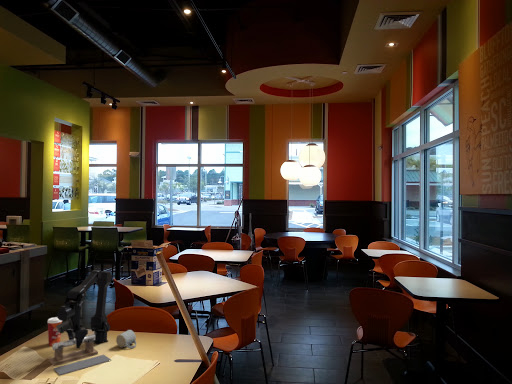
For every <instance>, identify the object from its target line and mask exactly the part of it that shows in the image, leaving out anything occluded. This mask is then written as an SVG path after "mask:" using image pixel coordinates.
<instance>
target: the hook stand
mask: <svg viewBox="0 0 512 384" xmlns="http://www.w3.org/2000/svg"><path fill="white" fill-rule="evenodd" d="M98 355H99V351H98V350H97V349H95V348H94V338H90V339H89V342H85V343H84V348H83V349H80V350H79V349H78V350H76V351H72V352H69V353H64V348H63V345H60V346H58V349H56V350H54V355H53V356H52V357H49V359H48V360H49V362H50V363H51V365H53V366H54V367H55V366H56V367H58V366H62V365H65V364H69V363H73V362H75V361H80V360H82V359H83V360H84V359H85V358H86V359H87V358H89V357H90V358H91V357H93V356H94V357H95V356H98Z"/></svg>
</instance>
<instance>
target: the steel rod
mask: <svg viewBox="0 0 512 384" xmlns="http://www.w3.org/2000/svg"><path fill="white" fill-rule="evenodd" d="M90 338H94V340H95V334H94V333H93V334H89V335H88V334H87V335H86V336H85V338H84V339H83V341H82V343H81V344H83V343H84V344H85V342H89V339H90ZM60 345H63V349H64V348H68V347H72V346H76V339H75V338H74V339H71V340H69V339H68V340H63V341H60V342H58V343H54V344H53V345H52V346H51V347H52V350H53V351H55V350H56V349H58V346H60Z"/></svg>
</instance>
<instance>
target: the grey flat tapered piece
mask: <svg viewBox="0 0 512 384" xmlns="http://www.w3.org/2000/svg"><path fill="white" fill-rule="evenodd" d="M109 360H111V361H112V359H111V358H110V357H108V356H107V355H105V354H101V355H95V356H94V357H93V356H92V357H90V358H89V357H88V358H86V359H85V358H84V359H83V360H82V359H81V360H77V361H76V362H75V361H74V362H70V363H66V364H63V365H59V366H56V367H54V368H53V370H54V371H55V372H56V373H57V374H58V376H63V375H66V374H69V373H74V372H78V371H81V370H84V369H88V368H91V367H94V366H99V365H101V364H104V363H108V362H110V361H109ZM107 361H108V362H107Z"/></svg>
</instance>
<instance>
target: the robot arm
mask: <svg viewBox="0 0 512 384" xmlns="http://www.w3.org/2000/svg"><path fill="white" fill-rule="evenodd" d="M112 279H113V274H112V273H111V272H110V271H103V270H102V271H100V270H91V271H90V274H88V276H87V277H86V278H85V279H84V280H83V281H81V283H80V284H79V285H78V286H75V287H72V289H70V290H69V291H68V292H67V295H66V297H65V299H64V302H63V303H62V306H60V309H58V310H57V313H56V317H57V318H58V319H59V320H61V321H62V323H61V324H59V325H57V326H56V327H57V330H58V332H59V333H61V334H63V333H66V335H67V337H68V340H71V339H76V345H75V346H76V347H75V348H76V349H80V347H81V345H82V344H83V343H82V341H83V339H84V338H85V336H88V334H89V330H88V329H87V328H85V327H84V326H83V323H82V320H83V319H84V317H83V316H82V314H83V313H82V311H83V310H82V308H83V305H84V304H85V302H84V299H85V298H86V296H87V292H88V291H89V289H90V288H91V287H93V285H94V283H95V284H96V286H97V296H96V305H95V314H94V315H93V316H91V318H90V329H91V332H93V334H95V340H94V343H95V344H96V345H100V344H102V343H107V342H109V340H108V332H109V331H110V329H111V325H110V323H109V322H108V317H107V314H106V305H107V294H108V287H109V286H110V284H111V282H112ZM65 320H66V321H65ZM94 343H93V344H94Z"/></svg>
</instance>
